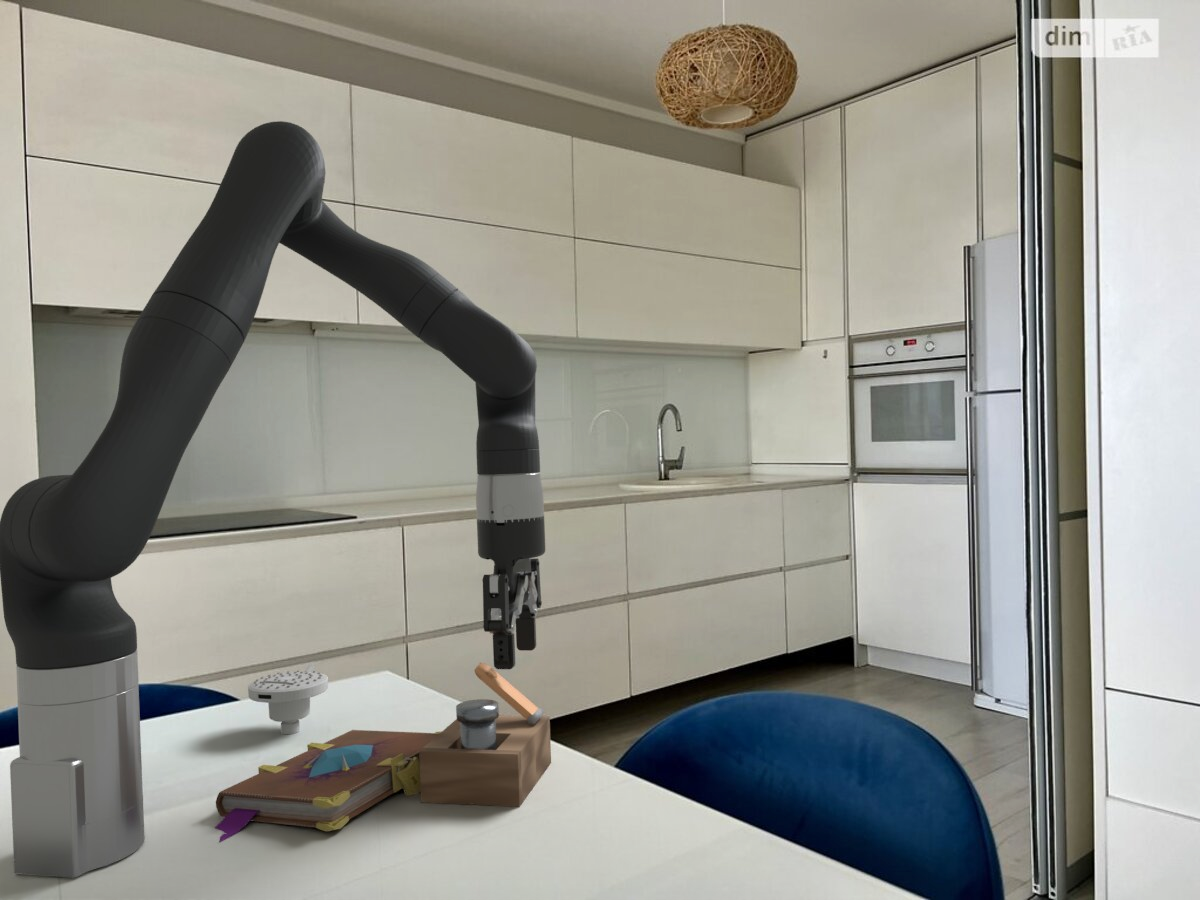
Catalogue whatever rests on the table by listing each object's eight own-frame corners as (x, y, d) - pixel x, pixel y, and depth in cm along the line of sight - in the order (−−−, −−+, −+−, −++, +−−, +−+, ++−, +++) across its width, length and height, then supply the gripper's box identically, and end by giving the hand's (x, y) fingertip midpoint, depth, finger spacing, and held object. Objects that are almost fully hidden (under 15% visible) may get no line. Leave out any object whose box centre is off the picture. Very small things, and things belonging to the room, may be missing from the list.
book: (176, 849, 83) (171, 794, 83) (351, 759, 105) (348, 716, 105) (316, 866, 76) (312, 806, 76) (471, 766, 99) (467, 720, 99)
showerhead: (345, 664, 116) (297, 684, 106) (347, 720, 116) (299, 746, 106) (282, 661, 119) (230, 681, 109) (284, 716, 119) (233, 741, 109)
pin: (494, 799, 88) (490, 711, 88) (453, 798, 89) (449, 711, 89) (506, 783, 92) (503, 699, 92) (467, 782, 93) (464, 699, 93)
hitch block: (519, 806, 86) (517, 754, 86) (421, 802, 88) (419, 751, 88) (551, 762, 98) (549, 716, 98) (463, 759, 100) (461, 714, 100)
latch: (532, 727, 95) (538, 719, 95) (470, 673, 96) (475, 665, 96) (539, 718, 97) (545, 711, 97) (478, 666, 99) (484, 659, 99)
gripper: (497, 510, 109) (503, 644, 109) (456, 520, 95) (462, 675, 95) (558, 508, 107) (563, 644, 107) (525, 519, 93) (531, 675, 93)
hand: (516, 658), depth 101 cm, fingers open, 8 cm apart
